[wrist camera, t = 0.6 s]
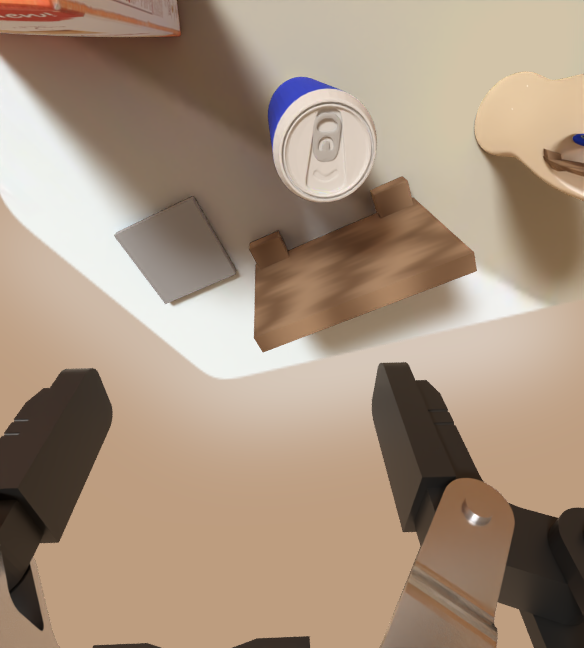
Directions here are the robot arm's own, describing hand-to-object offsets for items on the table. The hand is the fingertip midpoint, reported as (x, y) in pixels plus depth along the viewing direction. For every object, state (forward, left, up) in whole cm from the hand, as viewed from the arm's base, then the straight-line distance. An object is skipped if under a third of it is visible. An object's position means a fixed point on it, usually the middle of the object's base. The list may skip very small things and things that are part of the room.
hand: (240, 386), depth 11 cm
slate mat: (+10, +4, -26) cm, 28 cm away
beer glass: (-21, +5, -26) cm, 34 cm away
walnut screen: (-4, +9, -26) cm, 28 cm away
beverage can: (-5, -2, -26) cm, 27 cm away
